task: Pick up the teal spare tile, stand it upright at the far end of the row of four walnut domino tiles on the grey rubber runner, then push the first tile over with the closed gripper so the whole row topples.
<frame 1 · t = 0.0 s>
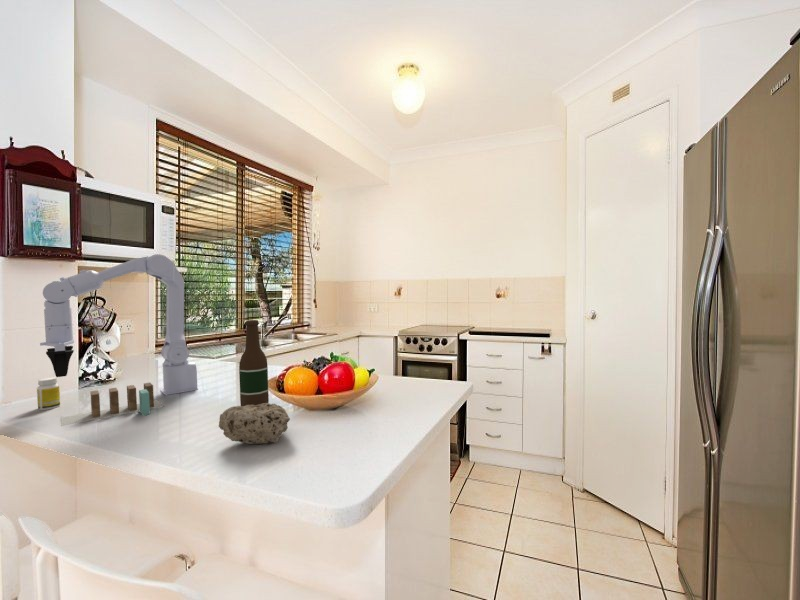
hand: (61, 374, 109), 10 cm above the table, tool pointing down, fingers open, 7 cm apart
tile 3: (114, 411, 106), resting on runner mat
pumice stone: (255, 441, 84), on the table
tile 5: (144, 413, 105), on the table
tile 1: (149, 405, 112), resting on runner mat
tile 4: (95, 415, 104), resting on runner mat
supplement bottle: (49, 408, 112), on the table
runner mat: (114, 412, 106), on the table
tile 2: (132, 408, 109), resting on runner mat
beer bottle: (255, 407, 108), on the table
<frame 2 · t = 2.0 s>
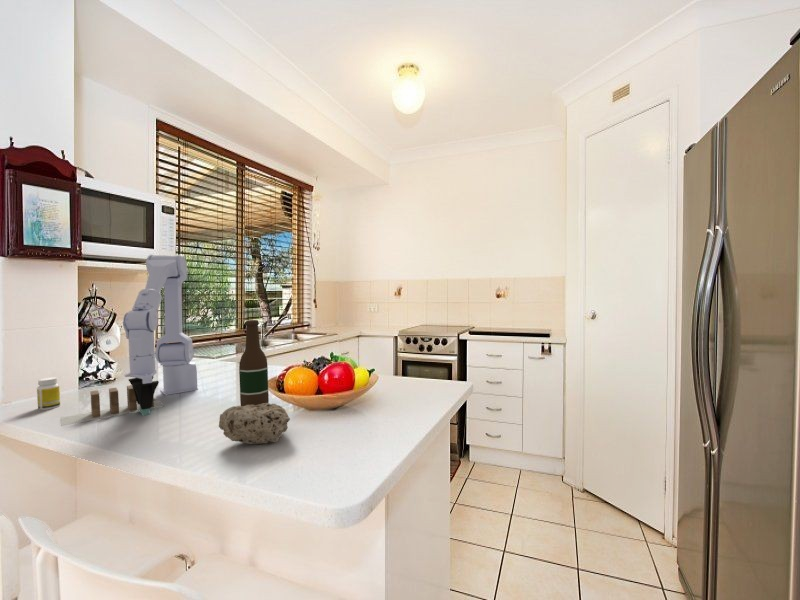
hand: (144, 406, 105), 2 cm above the table, tool pointing down, fingers open, 6 cm apart
tile 1: (149, 405, 112), resting on runner mat, touching gripper
tile 2: (132, 408, 109), resting on runner mat, touching gripper
everything else where it was.
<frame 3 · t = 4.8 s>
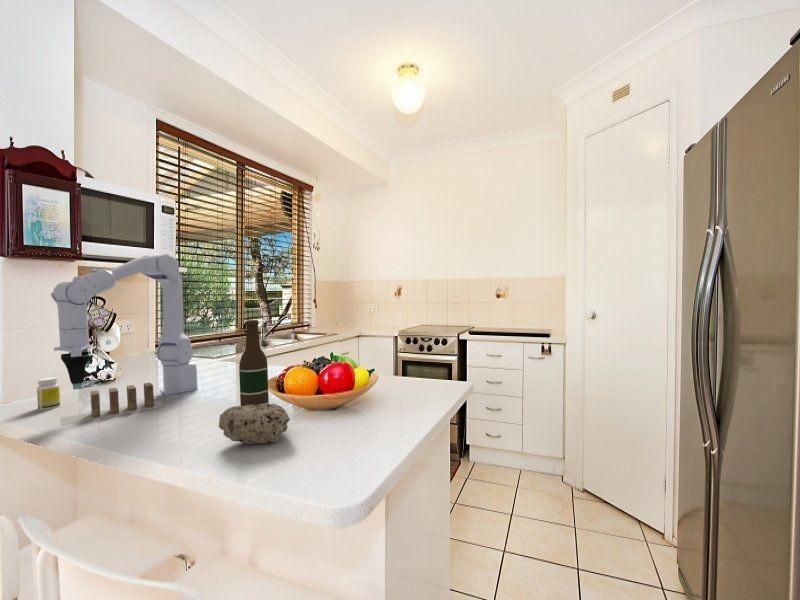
hand: (76, 381, 101), 10 cm above the table, tool pointing down, fingers closed on tile 5, 5 cm apart
tile 5: (77, 387, 101), point 8 cm above the table, touching gripper
tile 1: (149, 405, 112), resting on runner mat
tile 2: (132, 408, 109), resting on runner mat
everything else where it was.
when the fingers open (2 cm above the table, at t = 6.9 s): tile 5 stays where it is, resting on runner mat.
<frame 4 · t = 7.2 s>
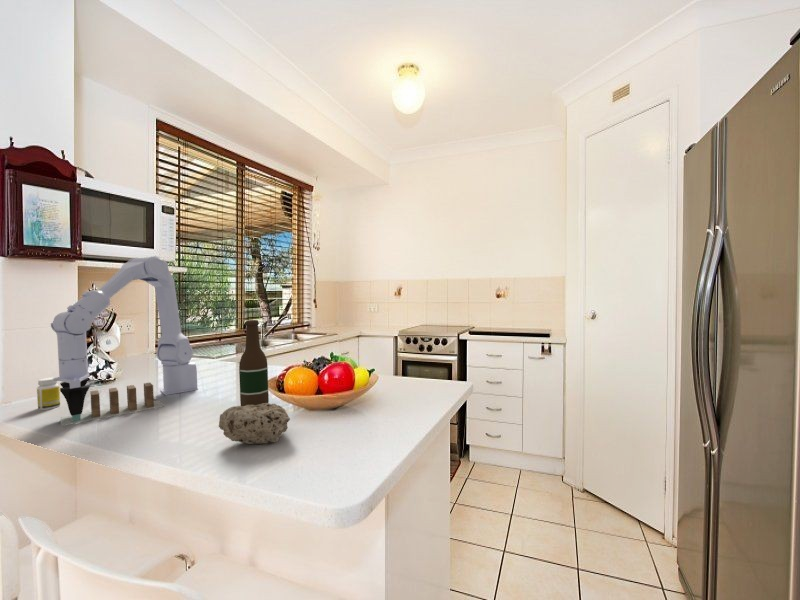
hand: (75, 411, 101), 2 cm above the table, tool pointing down, fingers open, 7 cm apart
tile 5: (76, 418, 101), resting on runner mat
everything else where it was.
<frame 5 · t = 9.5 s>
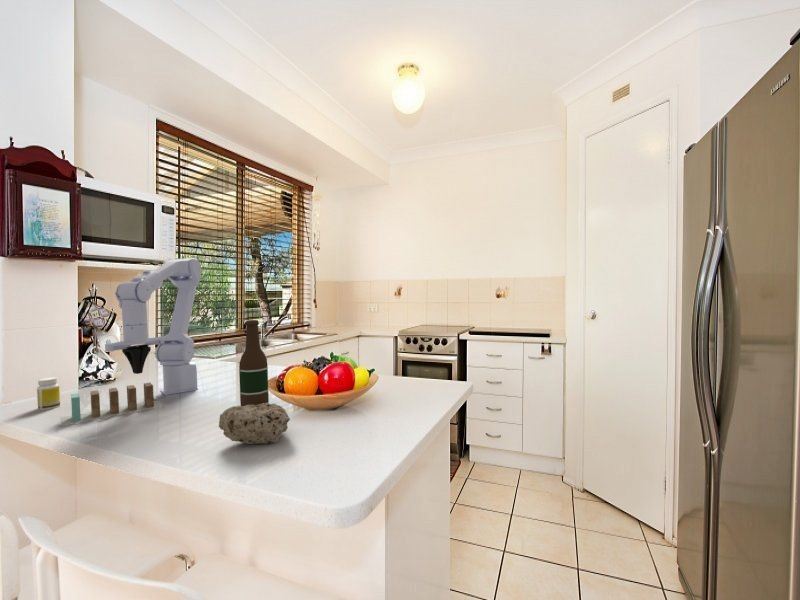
hand: (137, 373, 110), 10 cm above the table, tool pointing down, fingers closed
nothing on the table moved.
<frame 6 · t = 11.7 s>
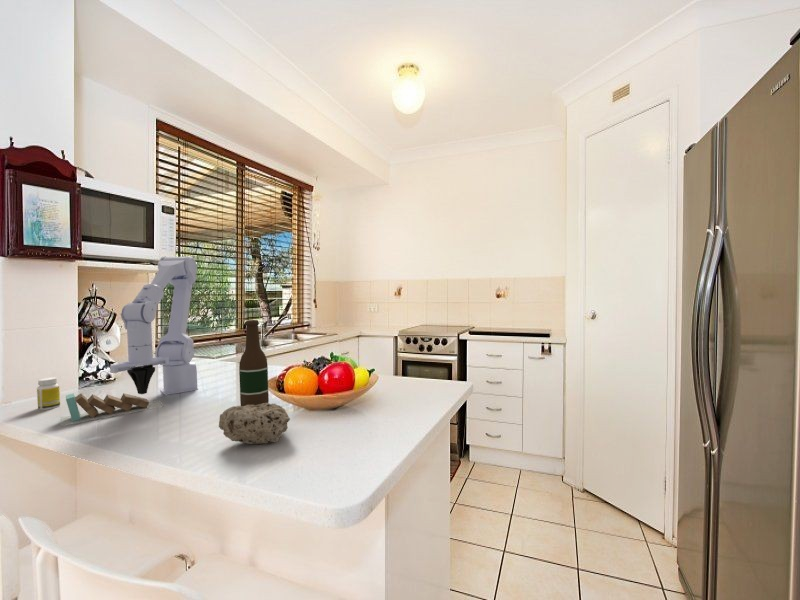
hand: (142, 393, 111), 4 cm above the table, tool pointing down, fingers closed
tile 3: (112, 409, 106), point 1 cm above the table, tilted 48°, touching runner mat
tile 5: (76, 418, 101), on the table, tilted 10°, touching runner mat
tile 1: (146, 403, 111), point 1 cm above the table, tilted 63°, touching runner mat, tile 2
tile 4: (94, 413, 104), point 1 cm above the table, tilted 32°, touching runner mat
tile 2: (129, 406, 109), point 1 cm above the table, tilted 58°, touching runner mat, tile 1
everything else where it was.
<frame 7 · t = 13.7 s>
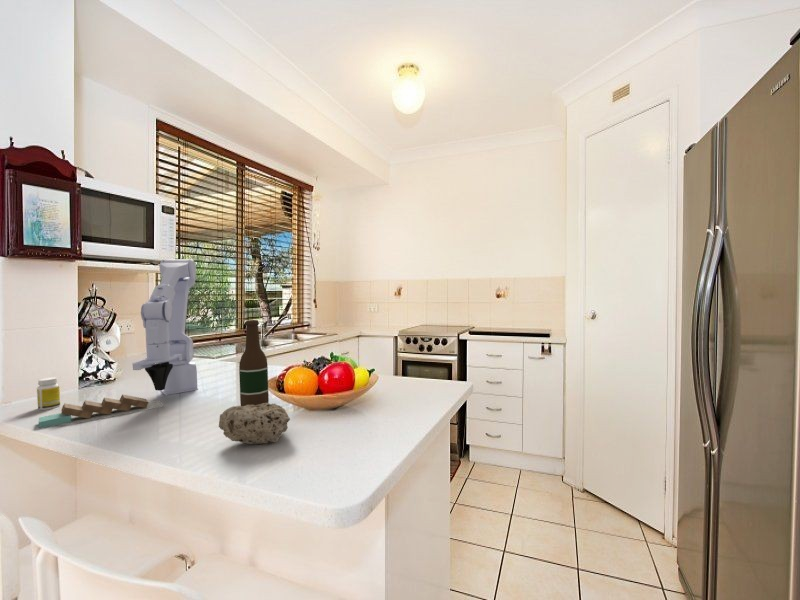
hand: (160, 389, 114), 4 cm above the table, tool pointing down, fingers closed
tile 3: (110, 409, 106), point 1 cm above the table, tilted 67°, touching runner mat, tile 2, tile 4
tile 5: (71, 416, 100), point 1 cm above the table, tilted 93°, touching runner mat, tile 4
tile 4: (90, 413, 103), point 1 cm above the table, tilted 65°, touching runner mat, tile 3, tile 5
tile 2: (128, 406, 109), point 1 cm above the table, tilted 67°, touching runner mat, tile 1, tile 3
everything else where it was.
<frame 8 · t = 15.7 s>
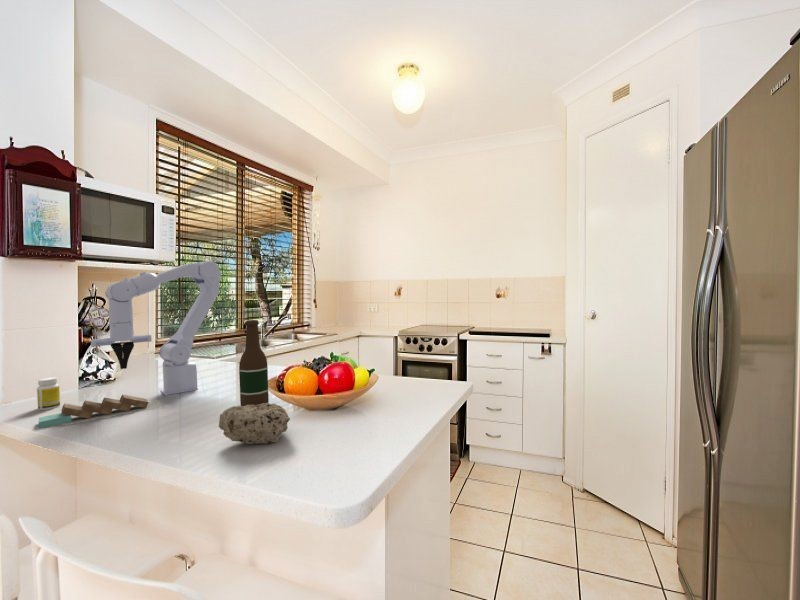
hand: (123, 368, 117), 10 cm above the table, tool pointing down, fingers closed
nothing on the table moved.
at the end: tile 5 tilted 93°; tile 4 tilted 65°; the gripper is holding nothing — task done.
